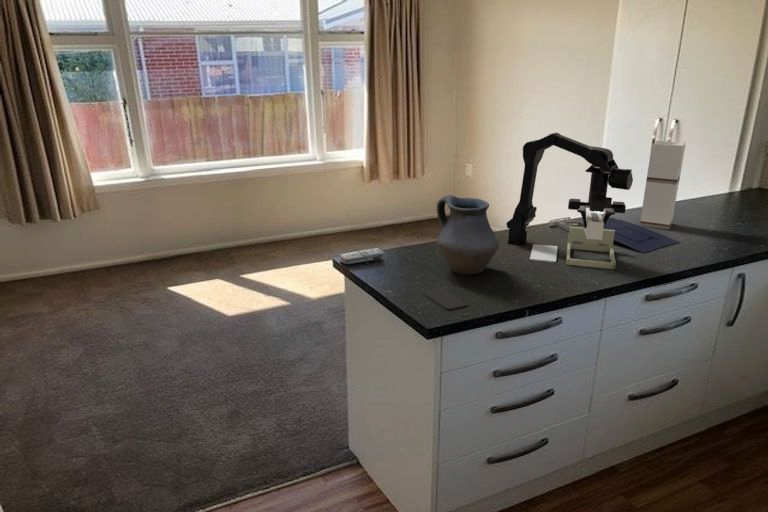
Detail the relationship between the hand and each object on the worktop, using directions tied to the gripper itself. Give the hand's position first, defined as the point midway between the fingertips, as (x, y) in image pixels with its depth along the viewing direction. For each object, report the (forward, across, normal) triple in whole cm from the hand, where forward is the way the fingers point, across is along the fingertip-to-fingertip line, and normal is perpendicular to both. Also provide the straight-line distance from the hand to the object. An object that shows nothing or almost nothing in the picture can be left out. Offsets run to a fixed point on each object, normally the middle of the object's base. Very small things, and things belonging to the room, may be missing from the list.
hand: (593, 229), depth 203 cm
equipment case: (+11, 0, 0) cm, 11 cm away
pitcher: (+11, -41, -26) cm, 50 cm away
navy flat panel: (+11, +15, +30) cm, 35 cm away
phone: (+11, -42, -53) cm, 69 cm away
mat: (+11, -16, 0) cm, 19 cm away
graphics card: (+12, -7, +36) cm, 38 cm away
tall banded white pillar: (+11, +28, +55) cm, 63 cm away
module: (+2, 0, 0) cm, 2 cm away
